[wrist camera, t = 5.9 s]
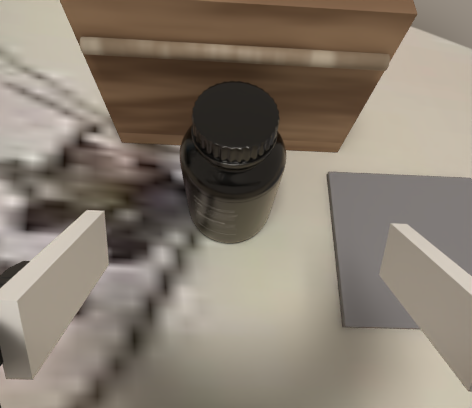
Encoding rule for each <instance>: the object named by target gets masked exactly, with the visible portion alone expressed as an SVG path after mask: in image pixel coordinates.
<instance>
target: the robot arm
mask: <svg viewBox="0 0 472 408" xmlns="http://www.w3.org/2000/svg"><path fill="white" fill-rule="evenodd" d="M108 265H109V261H108V249H107V237H106V226H105V214H104V211H95V210H87V211H86V212H84V213H83V214H82V215H81V216H80V217H79V218H78V219H77V220H76V221H74V222H73V223H72V224H71V225H70V226H69V227H68V228H67V229H66V230H64V231H63V232H62V233H61V234H60V235H59V236H58V237H57V238H56V239H54V240H53V241H52V242H51V243H50V244H49V245H48V246H47V247H46V248H45V249H43V250H42V251H41V252H40V253H39V254H38V255H37V256H36V257H35V258H33V259H32V260H31V261H22V262H20V263H18V264H16V265H14V266H12V267H10V268H8V269H7V270H6V271H5V272H4V273H3V274H1V275H0V366H1V365H2V363H3V368H4V372H5V376H6V379H26V380H33V378H34V377H35V375H36V374H37V372H38V371H39V369H40V368H41V366H42V365H43V363H44V362H45V360H46V359H47V357H48V356H49V354H50V353H51V351H52V350H53V348H54V347H55V345H56V344H57V342H58V341H59V339H60V338H61V336H62V335H63V333H64V332H65V330H66V329H67V327H68V326H69V324H70V323H71V321H72V320H73V318H74V317H75V315H76V313H77V312H78V310H79V309H80V307H81V306H82V304H83V303H84V301H85V300H86V298H87V297H88V295H89V294H90V292H91V291H92V289H93V288H94V286H95V285H96V283H97V282H98V280H99V279H100V277H101V276H102V274H103V273H104V271H105V270H106V268H107V267H108ZM379 275H380V277H381V278H382V279H383V281H384V282H385V283H386V285H387V286H388V287H389V288H390V290H391V291H392V292H393V294H394V295H395V296H396V298H397V299H398V300H399V302H400V303H401V304H402V305H403V307H404V308H405V309H406V311H407V312H408V313H409V315H410V316H411V317H412V319H413V320H414V321H415V322H416V324H417V325H418V326H419V328H420V329H421V330H422V332H423V333H424V334H425V335H426V337H427V338H428V339H429V341H430V342H431V343H432V345H433V346H434V347H435V349H436V350H437V351H438V352H439V354H440V355H441V356H442V358H443V359H444V360H445V362H446V363H447V364H448V366H449V367H450V368H451V369H452V371H453V372H454V373H455V375H456V376H457V377H458V379H459V380H460V381H461V382H462V384H463V385H464V386H465V388H466V389H467V390H468V391H472V276H471V275H469V274H468V273H467V272H466V271H464V270H463V269H462V268H461V267H460V266H458V265H457V264H456V263H455V262H453V261H452V260H451V259H450V258H448V257H447V256H446V255H445V254H443V253H442V252H441V251H440V250H439V249H437V248H436V247H435V246H434V245H432V244H431V243H430V242H429V241H427V240H426V239H425V238H424V237H422V236H421V235H420V234H419V233H418V232H416V231H415V230H414V229H413V228H411V227H410V226H409V225H408V224H397V223H391V224H390V229H389V233H388V238H387V242H386V247H385V251H384V255H383V260H382V264H381V269H380V273H379ZM0 408H1V405H0Z"/></svg>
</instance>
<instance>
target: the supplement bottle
mask: <svg viewBox="0 0 472 408" xmlns="http://www.w3.org/2000/svg"><path fill="white" fill-rule="evenodd" d="M279 121H280V118H279V110H278V109H277V104H276V103H275V102H274V99H273V98H272V97H270V95H269V93H267V92H265V91H264V90H263V89H262V88H259V87H258V86H256V85H252V84H250V83H248V82H242V81H229V82H222V83H217V84H215V85H214V86H210V87H209V88H208V89H207V90H204V91H203V92H202V94H201V95H199V96H198V99H197V100H196V101H195V103H194V107H193V109H192V125H191V126H190V127H189V129H188V130H187V132H186V133H185V135H184V137H183V140H182V143H181V147H180V163H181V169H182V174H183V180H184V185H185V191H186V196H187V202H188V207H189V211H190V215H191V218H192V220H193V222H194V224H195V225H196V227H197V228H198V229H199V230H200V231H201V232H202V233H203V234H204V235H206V236H207V237H209V238H211V239H213V240H216V241H219V242H224V243H236V242H241V241H244V240H247V239H249V238H251V237H253V236H254V235H255V234H257V233H258V232H259V231H260V230H261V229H262V227H263V226H264V225H265V223H266V221H267V219H268V216H269V214H270V211H271V208H272V205H273V202H274V199H275V196H276V193H277V190H278V187H279V184H280V181H281V178H282V175H283V172H284V168H285V163H286V149H285V144H284V142H283V139H282V137H281V135H280V133H279V132H278V126H279Z"/></svg>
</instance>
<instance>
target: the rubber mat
mask: <svg viewBox="0 0 472 408" xmlns="http://www.w3.org/2000/svg"><path fill="white" fill-rule="evenodd" d="M327 181H328V191H329V200H330V210H331V219H332V229H333V238H334V248H335V258H336V267H337V277H338V286H339V296H340V305H341V315H342V324H343V327H357V328H394V329H420V328H419V326H418V325H417V324H416V322H415V321H414V320H413V319H412V317H411V316H410V315H409V313H408V312H407V311H406V309H405V308H404V307H403V305H402V304H401V303H400V302H399V300H398V299H397V298H396V296H395V295H394V294H393V292H392V291H391V290H390V288H389V287H388V286H387V285H386V283H385V282H384V281H383V279H382V278H381V277H380V275H379V273H380V269H381V264H382V260H383V255H384V251H385V247H386V242H387V238H388V233H389V229H390V224H391V223H397V224H408V225H409V226H410V227H411V228H413V229H414V230H415V231H416V232H418V233H419V234H420V235H421V236H422V237H424V238H425V239H426V240H427V241H429V242H430V243H431V244H432V245H434V246H435V247H436V248H437V249H439V250H440V251H441V252H442V253H443V254H445V255H446V256H447V257H448V258H450V259H451V260H452V261H453V262H455V263H456V264H457V265H458V266H460V267H461V268H462V269H463V270H464V271H466V272H467V273H468V274H469V275H471V276H472V179H471V178H462V177H439V176H416V175H394V174H371V173H348V172H328V174H327Z"/></svg>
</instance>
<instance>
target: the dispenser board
mask: <svg viewBox="0 0 472 408" xmlns="http://www.w3.org/2000/svg"><path fill="white" fill-rule="evenodd" d="M60 2H61V4H62V7H63V9H64V11H65V14H66V16H67V18H68V20H69V23H70V25H71V27H72V29H73V32H74V34H75V36H76V39H77V41H78V43H79V45H80V48H81V51H82V53H83V55H84V57H85V59H86V61H87V64H88V66H89V68H90V71H91V73H92V75H93V77H94V80H95V82H96V84H97V86H98V89H99V91H100V93H101V96H102V98H103V100H104V102H105V105H106V107H107V109H108V112H109V114H110V116H111V118H112V121H113V123H114V125H115V128H116V130H117V132H118V134H119V137H120V139H121V141H122V142H124V143H146V144H167V145H181V143H182V140H183V137H184V135H185V133H186V132H187V130H188V129H189V127H190V126H191V125H192V109H193V107H194V103H195V101H196V100H197V99H198V96H199V95H201V94H202V92H203V91H204V90H207V89H208V88H209V87H210V86H214V85H215V84H217V83H222V82H229V81H242V82H248V83H250V84H252V85H256V86H258V87H259V88H262V89H263V90H264V91H265V92H267V93H269V95H270V97H272V98H273V99H274V102H275V103H276V104H277V109H278V110H279V118H280V121H279V126H278V132H279V133H280V135H281V137H282V139H283V142H284V144H285V149H286V150H298V151H319V152H338V151H339V149H340V147H341V145H342V144H343V142H344V140H345V138H346V137H347V135H348V133H349V132H350V130H351V128H352V126H353V125H354V123H355V121H356V119H357V118H358V116H359V114H360V112H361V111H362V109H363V107H364V106H365V104H366V102H367V100H368V99H369V97H370V95H371V93H372V92H373V90H374V88H375V86H376V85H377V83H378V81H379V80H380V78H381V76H382V74H383V73H384V71H385V70H387V68H388V66H389V62H390V61H391V59H392V57H393V55H394V54H395V52H396V50H397V48H398V47H399V45H400V43H401V41H402V40H403V38H404V36H405V35H406V33H407V31H408V29H409V28H410V26H411V24H412V22H413V21H414V19H415V17H416V15H417V11H416V8H415V5H414V2H413V0H60Z"/></svg>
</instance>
